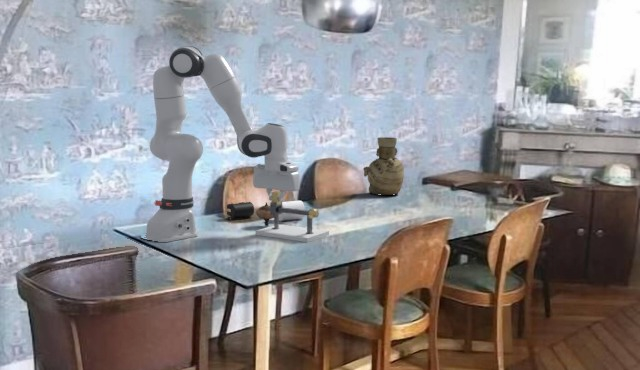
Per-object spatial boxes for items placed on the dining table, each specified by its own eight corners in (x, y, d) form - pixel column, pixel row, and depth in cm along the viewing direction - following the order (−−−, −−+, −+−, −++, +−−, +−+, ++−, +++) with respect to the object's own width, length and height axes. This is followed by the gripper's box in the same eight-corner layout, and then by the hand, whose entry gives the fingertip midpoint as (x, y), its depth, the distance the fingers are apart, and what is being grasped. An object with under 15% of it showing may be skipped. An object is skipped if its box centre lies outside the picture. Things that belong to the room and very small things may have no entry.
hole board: (307, 242, 256) (307, 237, 256) (255, 234, 269) (255, 230, 268) (329, 234, 269) (329, 230, 268) (278, 227, 281) (278, 224, 281)
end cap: (235, 221, 296) (234, 205, 295) (226, 218, 301) (225, 203, 300) (254, 218, 302) (254, 202, 301) (245, 215, 308) (245, 200, 307)
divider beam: (315, 234, 261) (315, 209, 260) (267, 228, 273) (267, 204, 272) (318, 233, 263) (318, 208, 262) (271, 227, 275) (270, 203, 274)
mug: (276, 219, 300) (276, 200, 299) (297, 217, 304) (297, 199, 303) (287, 224, 289) (287, 205, 288) (309, 222, 294) (309, 203, 293)
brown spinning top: (252, 226, 285) (251, 201, 283) (268, 223, 290) (268, 199, 289) (264, 229, 279) (263, 204, 277) (280, 226, 284) (280, 202, 283)
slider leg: (275, 228, 270) (275, 193, 268) (270, 228, 271) (270, 192, 269) (282, 226, 273) (282, 191, 271) (277, 226, 275) (276, 191, 273)
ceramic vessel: (363, 191, 377) (364, 135, 373) (402, 191, 375) (403, 136, 371) (362, 197, 358) (363, 138, 354) (404, 197, 357) (405, 139, 352)
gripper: (249, 164, 272) (249, 199, 274) (292, 168, 261) (292, 204, 263) (259, 163, 277) (259, 197, 279) (302, 166, 266) (302, 202, 268)
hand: (276, 200), depth 271 cm, fingers closed on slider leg, 3 cm apart
